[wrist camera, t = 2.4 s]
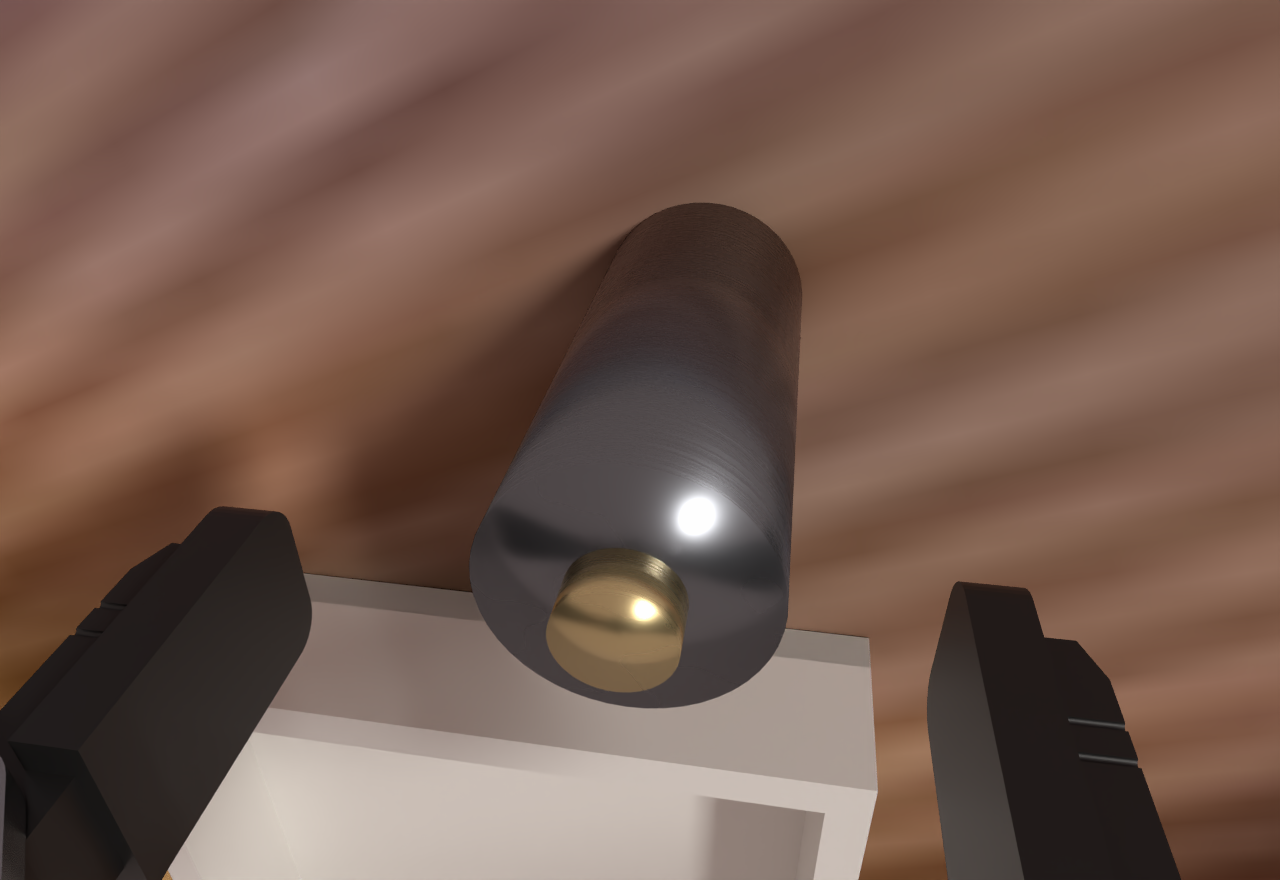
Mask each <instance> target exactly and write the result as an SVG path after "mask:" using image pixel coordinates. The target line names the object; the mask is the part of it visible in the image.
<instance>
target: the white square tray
mask: <svg viewBox="0 0 1280 880" xmlns="http://www.w3.org/2000/svg"><path fill="white" fill-rule="evenodd" d="M303 574H304V577H305V581H306V585H307V588H308V592H309V596H310V599H311V604H312V623H311V629H310V633H309V637H308V640H307V643H306V645H305V648H304V650H303V652H302V654H301V655H300V657H299V659H298V660H297V662H296V663H295V665H294V667H293V668H292V670H291V671H290V673H289V675H288V676H287V678H286V680H285V681H284V683H283V684H282V686H281V688H280V689H279V691H278V692H277V694H276V696H275V697H274V699H273V701H272V702H271V704H270V705H269V707H268V709H267V710H266V712H265V713H264V715H263V717H262V718H261V720H260V722H259V723H258V725H257V726H256V728H255V730H254V731H253V733H252V734H251V736H250V738H249V739H248V741H247V743H246V744H245V746H244V747H243V749H242V751H241V752H240V754H239V755H238V757H237V759H236V760H235V762H234V764H233V765H232V767H231V768H230V770H229V772H228V773H227V775H226V777H225V778H224V780H223V781H222V783H221V785H220V786H219V788H218V789H217V791H216V793H215V794H214V796H213V798H212V799H211V801H210V802H209V804H208V806H207V807H206V809H205V810H204V812H203V814H202V815H201V817H200V819H199V820H198V822H197V823H196V825H195V827H194V828H193V830H192V831H191V833H190V835H189V836H188V838H187V840H186V841H185V843H184V844H183V846H182V848H181V849H180V851H179V852H178V854H177V856H176V857H175V859H174V861H173V862H172V864H171V865H170V867H169V869H168V871H169V873H170V875H171V877H172V879H173V880H858V879H859V874H860V870H861V865H862V860H863V856H864V851H865V847H866V842H867V838H868V833H869V829H870V824H871V820H872V815H873V811H874V806H875V802H876V797H877V793H878V786H877V769H876V751H875V734H874V717H873V700H872V682H871V665H870V648H869V638H864V637H855V636H846V635H838V634H829V633H820V632H812V631H803V630H794V629H785V632H784V634H783V637H782V639H781V641H780V644H779V646H778V648H777V649H776V651H775V653H774V654H773V656H772V657H771V659H770V660H769V661H768V663H767V664H766V665H765V666H764V667H763V668H762V669H761V670H760V671H759V672H758V673H757V674H756V675H755V676H753V677H752V678H751V679H750V680H749V681H747V682H746V683H744V684H743V685H741V686H739V687H738V688H736V689H735V690H733V691H731V692H728V693H726V694H724V695H722V696H720V697H717V698H714V699H711V700H708V701H705V702H702V703H698V704H693V705H688V706H683V707H673V708H635V707H625V706H619V705H614V704H608V703H604V702H600V701H597V700H593V699H589V698H587V697H584V696H581V695H578V694H575V693H573V692H570V691H568V690H566V689H564V688H562V687H559V686H557V685H555V684H553V683H552V682H550V681H548V680H546V679H545V678H543V677H541V676H539V675H538V674H536V673H535V672H534V671H532V670H531V669H529V668H528V667H527V666H525V665H524V664H522V663H521V662H520V661H519V660H518V659H517V658H516V657H514V656H513V655H512V654H511V653H510V652H509V651H508V650H507V649H506V648H505V647H504V646H503V645H502V644H501V642H500V641H499V640H498V639H497V638H496V636H495V635H494V634H493V632H492V631H491V630H490V628H489V627H488V626H487V624H486V622H485V620H484V618H483V617H482V615H481V613H480V611H479V609H478V606H477V603H476V601H475V598H474V596H473V593H471V592H462V591H454V590H445V589H436V588H428V587H419V586H410V585H401V584H393V583H384V582H375V581H366V580H358V579H349V578H340V577H332V576H323V575H314V574H305V573H303Z"/></svg>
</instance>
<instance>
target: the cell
mask: <svg viewBox="0 0 1280 880" xmlns="http://www.w3.org/2000/svg"><path fill="white" fill-rule="evenodd" d="M801 309H802V288H801V280H800V276H799V272H798V268H797V266H796V264H795V261H794V259H793V257H792V255H791V253H790V252H789V250H788V248H787V247H786V245H785V244H784V243H783V241H782V240H781V239H780V238H779V236H778V235H777V234H776V233H775V232H773V231H772V230H771V229H770V228H769V227H768V226H767V225H765V224H764V223H763V222H761V221H760V220H759V219H757V218H755V217H753V216H752V215H750V214H748V213H746V212H744V211H741V210H738V209H736V208H733V207H729V206H725V205H721V204H713V203H689V204H682V205H678V206H674V207H671V208H667V209H665V210H663V211H660V212H658V213H656V214H654V215H652V216H651V217H649V218H647V219H646V220H644V221H643V222H642V223H640V224H639V225H638V226H637V227H636V228H634V229H633V231H632V232H631V233H630V234H629V235H628V236H627V237H626V238H625V240H624V241H623V243H622V244H621V246H620V247H619V249H618V251H617V253H616V255H615V257H614V259H613V261H612V263H611V265H610V267H609V269H608V271H607V273H606V275H605V277H604V279H603V281H602V283H601V285H600V287H599V289H598V291H597V293H596V295H595V297H594V299H593V301H592V303H591V305H590V307H589V309H588V311H587V313H586V315H585V317H584V319H583V321H582V323H581V325H580V327H579V329H578V331H577V333H576V335H575V337H574V339H573V341H572V343H571V345H570V347H569V349H568V351H567V353H566V355H565V357H564V359H563V361H562V363H561V365H560V367H559V369H558V371H557V373H556V375H555V377H554V379H553V381H552V383H551V385H550V387H549V389H548V391H547V393H546V395H545V397H544V399H543V401H542V403H541V405H540V407H539V409H538V411H537V413H536V415H535V417H534V419H533V421H532V423H531V425H530V427H529V429H528V431H527V433H526V435H525V437H524V439H523V441H522V443H521V445H520V447H519V449H518V451H517V453H516V455H515V457H514V459H513V461H512V463H511V465H510V467H509V469H508V471H507V473H506V475H505V477H504V479H503V481H502V483H501V485H500V487H499V489H498V491H497V493H496V495H495V497H494V499H493V500H492V502H491V504H490V506H489V508H488V510H487V512H486V514H485V516H484V518H483V520H482V522H481V524H480V526H479V528H478V530H477V532H476V534H475V538H474V541H473V544H472V548H471V553H470V562H469V571H470V582H471V587H472V591H473V596H474V598H475V601H476V603H477V606H478V609H479V611H480V613H481V615H482V617H483V618H484V620H485V622H486V624H487V626H488V627H489V628H490V630H491V631H492V632H493V634H494V635H495V636H496V638H497V639H498V640H499V641H500V642H501V644H502V645H503V646H504V647H505V648H506V649H507V650H508V651H509V652H510V653H511V654H512V655H513V656H514V657H516V658H517V659H518V660H519V661H520V662H521V663H522V664H524V665H525V666H527V667H528V668H529V669H531V670H532V671H534V672H535V673H536V674H538V675H539V676H541V677H543V678H545V679H546V680H548V681H550V682H552V683H553V684H555V685H557V686H559V687H562V688H564V689H566V690H568V691H570V692H573V693H575V694H578V695H581V696H584V697H587V698H589V699H593V700H597V701H600V702H604V703H608V704H614V705H619V706H625V707H635V708H673V707H683V706H688V705H693V704H698V703H702V702H705V701H708V700H711V699H714V698H717V697H720V696H722V695H724V694H726V693H728V692H731V691H733V690H735V689H736V688H738V687H739V686H741V685H743V684H744V683H746V682H747V681H749V680H750V679H751V678H752V677H753V676H755V675H756V674H757V673H758V672H759V671H760V670H761V669H762V668H763V667H764V666H765V665H766V664H767V663H768V661H769V660H770V659H771V657H772V656H773V654H774V653H775V651H776V649H777V648H778V646H779V644H780V641H781V639H782V637H783V634H784V632H785V627H786V622H787V617H788V598H789V576H790V553H791V531H792V509H793V487H794V464H795V442H796V420H797V398H798V375H799V353H800V331H801Z"/></svg>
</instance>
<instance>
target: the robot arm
mask: <svg viewBox="0 0 1280 880" xmlns="http://www.w3.org/2000/svg"><path fill="white" fill-rule="evenodd" d="M311 623H312V604H311V599H310V596H309V592H308V588H307V585H306V581H305V577H304V574H303V570H302V566H301V563H300V559H299V555H298V552H297V548H296V545H295V541H294V537H293V534H292V530H291V527H290V524H289V521H288V520H287V518H286V517H285V516H284V515H283V514H282V513H280V512H275V511H265V510H255V509H244V508H234V507H224V506H223V507H217V508H215V509H213V510H212V511H210V512H209V513H208V514H207V515H206V516H205V518H204V519H203V520H202V521H201V522H200V523H199V524H198V526H197V527H196V528H195V529H194V530H193V531H192V532H191V533H190V535H189V536H188V537H187V538H186V539H185V540H184V541H183V542H182V544H176V543H171V544H170V545H168V546H166V547H165V548H163V549H162V550H160V551H159V552H157V553H155V554H154V555H152V556H151V557H149V558H148V559H146V560H144V561H143V562H141V563H140V564H138V565H137V566H135V567H133V568H132V569H130V570H129V572H128V573H127V574H126V575H125V576H124V577H123V578H122V579H121V580H120V581H119V582H118V583H117V585H116V586H115V587H114V588H113V589H112V590H111V591H110V592H109V593H108V594H107V595H106V596H105V598H104V599H103V600H102V601H101V606H100V608H94V609H93V611H92V612H91V613H90V614H89V615H88V616H87V617H86V618H85V619H84V620H83V621H82V622H81V624H80V625H79V626H78V627H77V628H76V634H75V635H74V636H73V635H69V637H68V638H67V639H66V640H65V641H64V642H63V643H62V644H61V645H60V646H59V647H58V648H57V650H56V651H55V652H54V653H53V654H52V655H51V656H50V657H49V658H48V659H47V660H46V661H45V663H44V664H43V665H42V666H41V667H40V668H39V669H38V670H37V671H36V672H35V673H34V674H33V676H32V677H31V678H30V679H29V680H28V681H27V682H26V683H25V684H24V685H23V686H22V687H21V689H20V690H19V691H18V692H17V693H16V694H15V695H14V696H13V697H12V698H11V699H10V700H9V702H8V703H7V704H6V705H5V706H4V707H3V708H2V709H1V710H0V880H162V878H163V877H164V875H165V873H166V872H167V870H168V869H169V867H170V865H171V864H172V862H173V861H174V859H175V857H176V856H177V854H178V852H179V851H180V849H181V848H182V846H183V844H184V843H185V841H186V840H187V838H188V836H189V835H190V833H191V831H192V830H193V828H194V827H195V825H196V823H197V822H198V820H199V819H200V817H201V815H202V814H203V812H204V810H205V809H206V807H207V806H208V804H209V802H210V801H211V799H212V798H213V796H214V794H215V793H216V791H217V789H218V788H219V786H220V785H221V783H222V781H223V780H224V778H225V777H226V775H227V773H228V772H229V770H230V768H231V767H232V765H233V764H234V762H235V760H236V759H237V757H238V755H239V754H240V752H241V751H242V749H243V747H244V746H245V744H246V743H247V741H248V739H249V738H250V736H251V734H252V733H253V731H254V730H255V728H256V726H257V725H258V723H259V722H260V720H261V718H262V717H263V715H264V713H265V712H266V710H267V709H268V707H269V705H270V704H271V702H272V701H273V699H274V697H275V696H276V694H277V692H278V691H279V689H280V688H281V686H282V684H283V683H284V681H285V680H286V678H287V676H288V675H289V673H290V671H291V670H292V668H293V667H294V665H295V663H296V662H297V660H298V659H299V657H300V655H301V654H302V652H303V650H304V648H305V645H306V643H307V640H308V637H309V633H310V629H311ZM927 723H928V733H929V741H930V748H931V756H932V763H933V770H934V778H935V785H936V793H937V800H938V808H939V815H940V823H941V830H942V838H943V845H944V853H945V860H946V868H947V875H948V880H1181V878H1180V875H1179V872H1178V870H1177V867H1176V864H1175V861H1174V858H1173V856H1172V853H1171V850H1170V847H1169V844H1168V842H1167V839H1166V836H1165V833H1164V830H1163V828H1162V825H1161V822H1160V819H1159V816H1158V813H1157V811H1156V808H1155V805H1154V802H1153V799H1152V797H1151V794H1150V791H1149V788H1148V785H1147V783H1146V780H1145V777H1144V774H1143V771H1142V769H1141V768H1138V765H1137V761H1138V757H1137V755H1136V752H1135V749H1134V746H1133V743H1132V741H1131V738H1130V735H1129V732H1127V731H1125V721H1124V718H1123V715H1122V713H1121V710H1120V707H1119V704H1118V701H1117V699H1116V696H1115V693H1114V690H1113V687H1112V685H1111V682H1110V680H1109V678H1108V677H1107V676H1106V675H1105V674H1104V673H1103V671H1102V670H1101V669H1100V668H1099V667H1098V666H1097V664H1096V663H1095V662H1094V661H1093V660H1092V659H1091V657H1090V656H1089V655H1088V654H1087V653H1086V652H1085V650H1084V649H1083V648H1082V647H1081V646H1080V645H1079V643H1078V642H1077V641H1073V640H1063V639H1054V638H1044V635H1043V632H1042V629H1041V625H1040V622H1039V618H1038V615H1037V611H1036V608H1035V605H1034V601H1033V598H1032V596H1031V594H1030V592H1029V591H1028V590H1027V589H1026V588H1019V587H1009V586H999V585H989V584H979V583H969V582H956V583H955V585H954V586H953V589H952V591H951V595H950V598H949V602H948V606H947V610H946V614H945V618H944V622H943V626H942V630H941V634H940V638H939V642H938V646H937V650H936V654H935V658H934V662H933V665H932V669H931V674H930V679H929V686H928V697H927Z"/></svg>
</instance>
